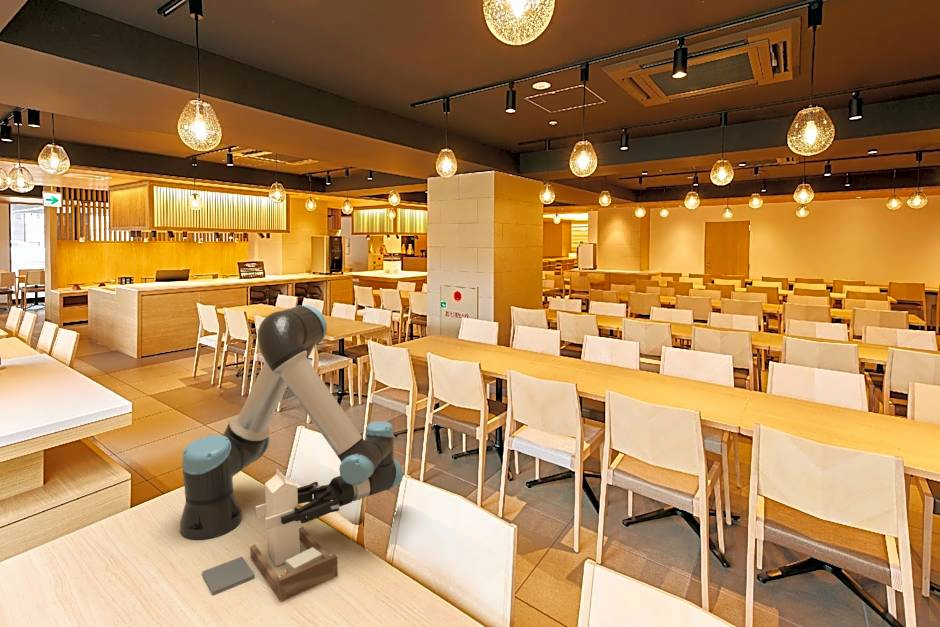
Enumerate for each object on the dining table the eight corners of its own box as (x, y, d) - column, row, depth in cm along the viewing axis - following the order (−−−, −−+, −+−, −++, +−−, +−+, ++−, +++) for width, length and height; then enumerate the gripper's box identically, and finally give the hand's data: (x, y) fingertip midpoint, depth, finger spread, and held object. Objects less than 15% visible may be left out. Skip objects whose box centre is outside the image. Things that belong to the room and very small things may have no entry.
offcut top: (285, 572, 117) (285, 560, 117) (313, 558, 122) (312, 547, 122) (294, 580, 115) (294, 568, 114) (322, 565, 120) (322, 554, 119)
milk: (275, 566, 123) (271, 481, 120) (268, 554, 128) (263, 471, 125) (300, 557, 127) (296, 473, 124) (292, 545, 132) (288, 464, 128)
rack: (250, 557, 127) (249, 538, 126) (303, 537, 135) (302, 519, 135) (280, 601, 112) (280, 580, 111) (337, 575, 120) (337, 556, 120)
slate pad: (202, 574, 120) (202, 571, 120) (242, 559, 126) (242, 556, 126) (212, 595, 113) (212, 592, 113) (254, 578, 119) (254, 574, 119)
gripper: (367, 516, 131) (276, 551, 116) (333, 487, 145) (248, 515, 130) (366, 488, 130) (275, 520, 115) (332, 462, 144) (247, 488, 129)
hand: (261, 517), depth 123 cm, fingers closed on milk, 6 cm apart
